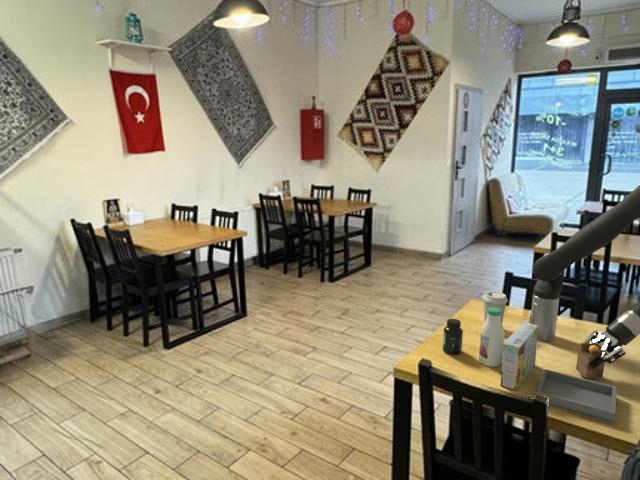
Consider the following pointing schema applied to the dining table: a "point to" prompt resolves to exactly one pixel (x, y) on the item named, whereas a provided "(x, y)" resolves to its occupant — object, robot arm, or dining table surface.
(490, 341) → the milk bottle
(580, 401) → the tray
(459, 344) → the supplement bottle
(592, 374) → the wooden box
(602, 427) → the dining table surface
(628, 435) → the dining table surface
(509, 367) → the snack box
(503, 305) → the coffee cup
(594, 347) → the ball
